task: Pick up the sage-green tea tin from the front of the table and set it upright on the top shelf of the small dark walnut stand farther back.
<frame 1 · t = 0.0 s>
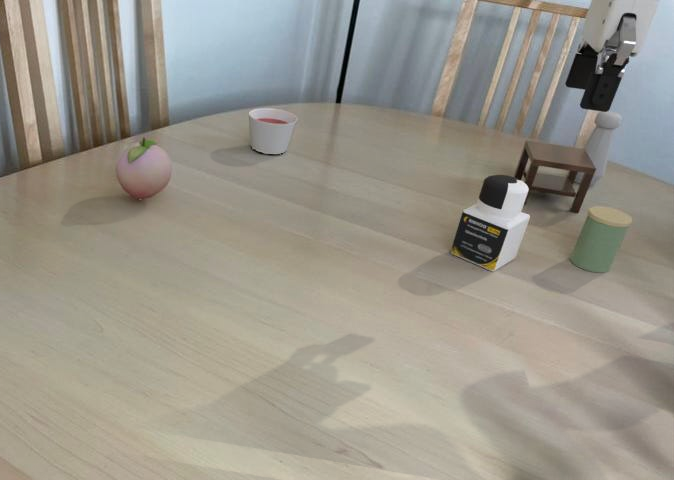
hand: (585, 98, 91), 25 cm above the table, tool pointing down, fingers open, 9 cm apart
salt shaker: (583, 182, 141), on the table
tea tin: (589, 263, 111), on the table
stand: (543, 197, 132), on the table
medicine bottle: (481, 257, 110), on the table
decorative fruit: (143, 201, 117), on the table
candle: (268, 150, 141), on the table
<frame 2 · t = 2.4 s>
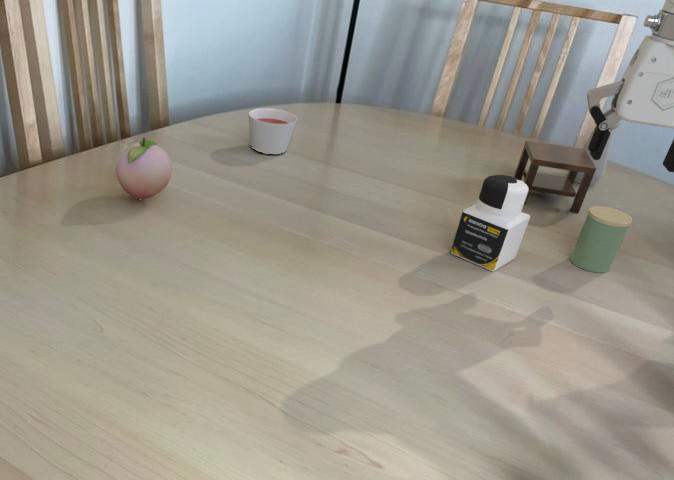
hand: (630, 162, 102), 16 cm above the table, tool pointing down, fingers open, 9 cm apart
nothing on the table moved.
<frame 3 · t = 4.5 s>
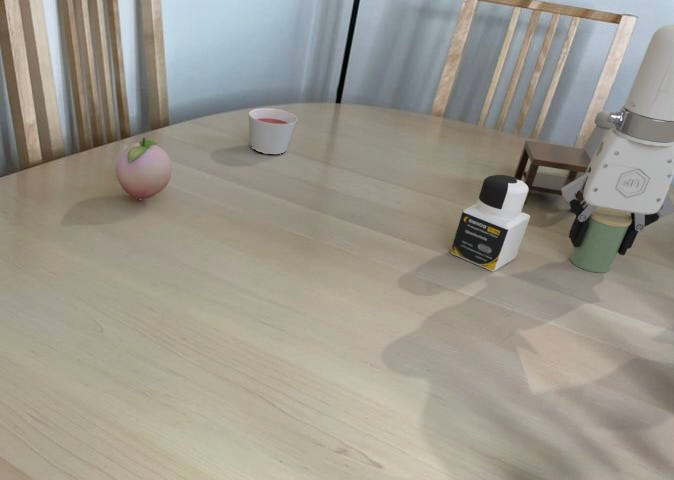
hand: (597, 246, 110), 3 cm above the table, tool pointing down, fingers closed on tea tin, 5 cm apart
tea tin: (589, 263, 111), on the table, touching gripper
everything else where it was.
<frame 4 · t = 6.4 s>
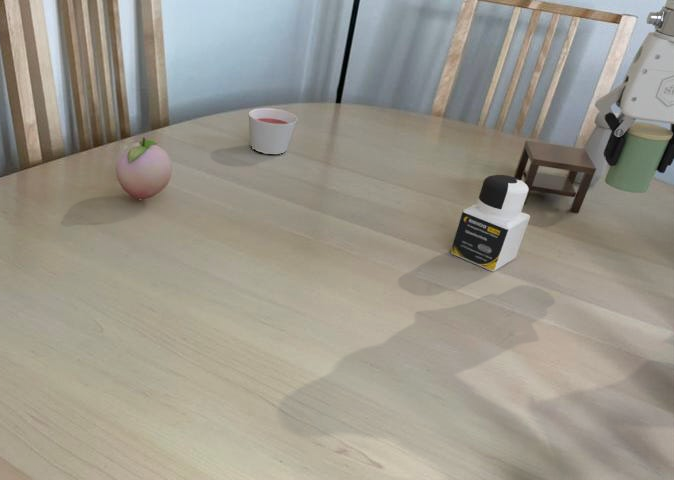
hand: (634, 164, 103), 15 cm above the table, tool pointing down, fingers closed on tea tin, 5 cm apart
tea tin: (626, 184, 104), point 13 cm above the table, touching gripper
everything else where it was.
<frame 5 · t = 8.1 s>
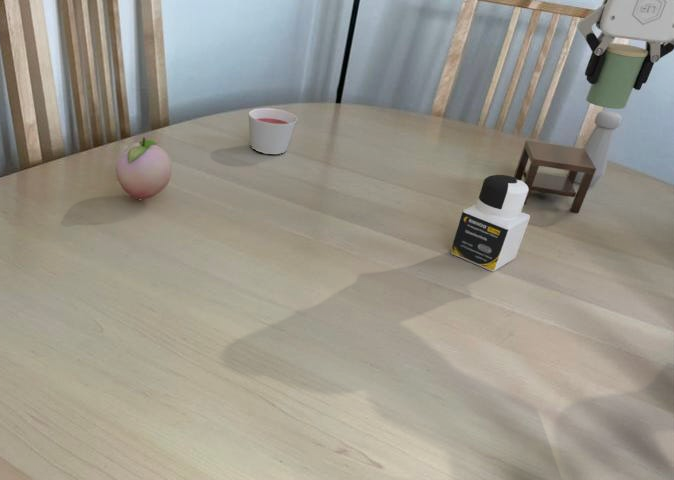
hand: (612, 83, 111), 22 cm above the table, tool pointing down, fingers closed on tea tin, 5 cm apart
tea tin: (605, 103, 113), point 19 cm above the table, touching gripper
everything else where it was.
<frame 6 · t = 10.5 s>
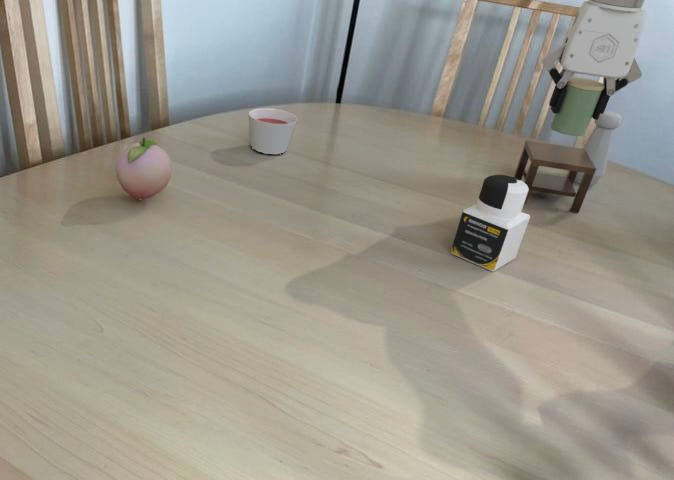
hand: (574, 113, 124), 15 cm above the table, tool pointing down, fingers closed on tea tin, 5 cm apart
tea tin: (567, 130, 125), point 12 cm above the table, touching gripper
everything else where it was.
when the fingers open (11 cm above the table, at t = 12.0 s): tea tin stays where it is, resting on stand.
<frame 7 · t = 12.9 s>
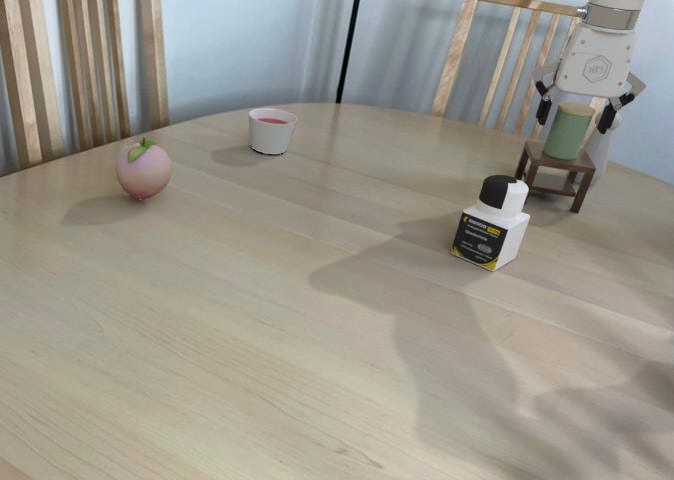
hand: (570, 127, 125), 13 cm above the table, tool pointing down, fingers open, 9 cm apart
tea tin: (559, 153, 127), point 8 cm above the table, touching stand
everything else where it was.
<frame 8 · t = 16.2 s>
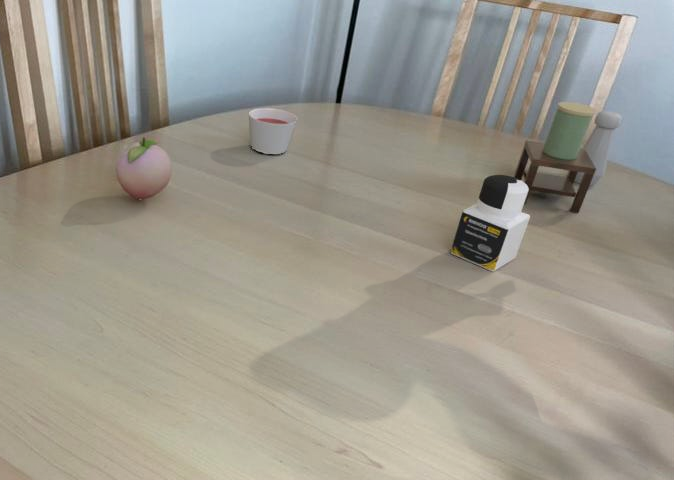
nothing on the table moved.
at the end: tea tin 0.0 cm off-centre on the stand, point 8.0 cm above the stand's base; tea tin tilted 0°; the gripper is holding nothing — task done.
